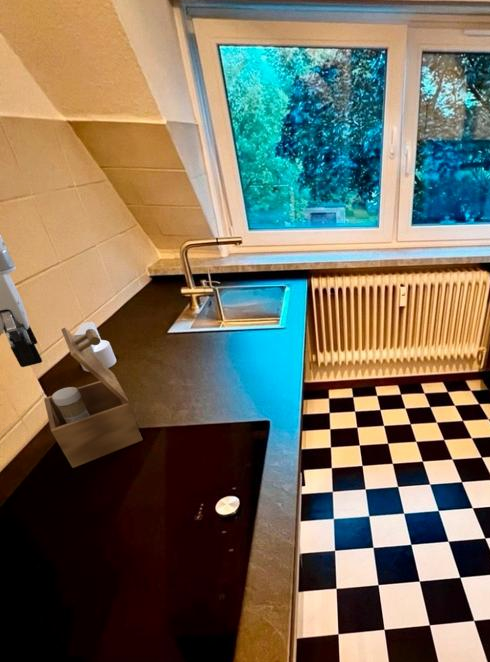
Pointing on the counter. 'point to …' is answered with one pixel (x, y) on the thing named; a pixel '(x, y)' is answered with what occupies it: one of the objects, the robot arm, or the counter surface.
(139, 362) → the counter surface
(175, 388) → the counter surface
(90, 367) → the lid
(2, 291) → the robot arm
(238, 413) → the counter surface
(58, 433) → the chest
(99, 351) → the cylinder with rectangular tab
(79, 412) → the sprinkles bottle
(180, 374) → the counter surface
